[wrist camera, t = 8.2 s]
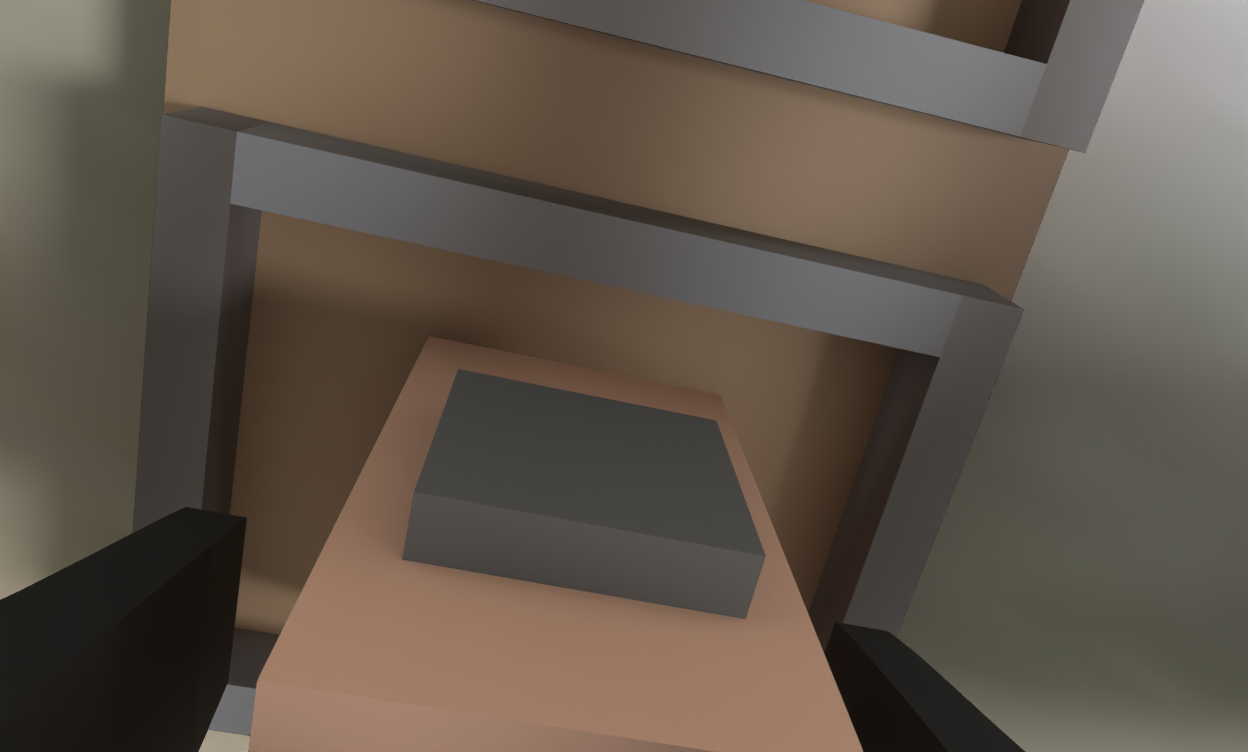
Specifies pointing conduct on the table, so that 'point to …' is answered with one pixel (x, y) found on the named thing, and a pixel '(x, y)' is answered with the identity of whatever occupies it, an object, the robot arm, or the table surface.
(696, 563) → the pinkish brown block
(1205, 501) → the table surface
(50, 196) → the table surface
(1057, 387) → the table surface
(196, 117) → the brown flat tray
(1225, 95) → the table surface
